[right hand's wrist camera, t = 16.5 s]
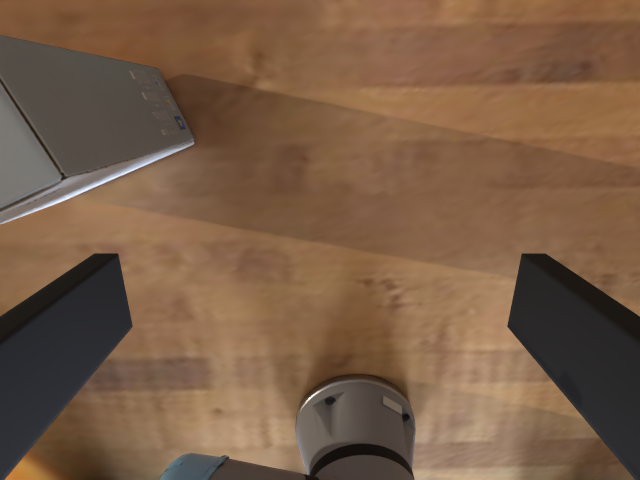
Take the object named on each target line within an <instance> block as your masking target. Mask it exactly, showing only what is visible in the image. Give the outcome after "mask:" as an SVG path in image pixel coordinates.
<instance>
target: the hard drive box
mask: <svg viewBox="0 0 640 480" xmlns="http://www.w3.org/2000/svg"><path fill="white" fill-rule="evenodd" d="M194 140H195V139H194V137H193V135H192V133H191V131H190V129H189V127H188V125H187V123H186V121H185V119H184V117H183V115H182V113H181V111H180V109H179V108H178V106H177V104H176V102H175V100H174V98H173V96H172V94H171V92H170V90H169V89H168V87H167V85H166V83H165V81H164V79H163V77H162V75H161V74H160V72H159V70H158V69H157V68H155V67H150V66H146V65H141V64H136V63H132V62H127V61H122V60H117V59H112V58H107V57H102V56H97V55H92V54H88V53H83V52H78V51H73V50H68V49H64V48H59V47H54V46H49V45H44V44H40V43H35V42H30V41H25V40H21V39H16V38H11V37H7V36H2V35H0V224H3V223H6V222H8V221H11V220H14V219H17V218H19V217H22V216H25V215H27V214H30V213H33V212H35V211H38V210H41V209H43V208H46V207H49V206H51V205H54V204H57V203H59V202H62V201H64V200H67V199H69V198H71V197H74V196H76V195H78V194H80V193H83V192H85V191H87V190H89V189H92V188H94V187H96V186H99V185H101V184H103V183H105V182H108V181H110V180H112V179H115V178H117V177H119V176H122V175H124V174H126V173H129V172H131V171H133V170H136V169H138V168H140V167H143V166H145V165H147V164H150V163H152V162H154V161H157V160H159V159H161V158H164V157H166V156H168V155H171V154H173V153H175V152H178V151H180V150H182V149H185V148H187V147H189V146H191V145H193V144H194Z"/></svg>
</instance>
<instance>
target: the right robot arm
mask: <svg viewBox="0 0 640 480" xmlns="http://www.w3.org/2000/svg"><path fill="white" fill-rule="evenodd" d="M132 327H133V326H132V321H131V316H130V311H129V306H128V301H127V296H126V291H125V286H124V281H123V276H122V271H121V266H120V261H119V256H118V254H93V255H92V256H90V257H89V258H87V259H86V260H84V261H83V262H81V263H80V264H78V265H77V266H75V267H74V268H72V269H71V270H69V271H68V272H66V273H65V274H63V275H62V276H60V277H59V278H57V279H56V280H54V281H53V282H51V283H50V284H48V285H47V286H45V287H44V288H42V289H41V290H39V291H38V292H36V293H35V294H33V295H32V296H30V297H29V298H27V299H26V300H24V301H23V302H21V303H20V304H18V305H17V306H15V307H14V308H12V309H11V310H9V311H8V312H7V313H5V314H4V315H2V316H1V317H0V480H5V478H6V477H7V476H8V475H9V474H10V472H11V471H12V470H13V469H14V468H15V466H16V465H17V464H18V463H19V462H20V460H21V459H22V458H23V457H24V456H25V455H26V453H27V452H28V451H29V450H30V449H31V447H32V446H33V445H34V444H35V443H36V441H37V440H38V439H39V438H40V437H41V435H42V434H43V433H44V432H45V431H46V429H47V428H48V427H49V426H50V425H51V423H52V422H53V421H54V420H55V419H56V417H57V416H58V415H59V414H60V413H61V412H62V410H63V409H64V408H65V407H66V406H67V404H68V403H69V402H70V401H71V400H72V398H73V397H74V396H75V395H76V394H77V392H78V391H79V390H80V389H81V388H82V386H83V385H84V384H85V383H86V382H87V380H88V379H89V378H90V377H91V376H92V374H93V373H94V372H95V371H96V370H97V369H98V367H99V366H100V365H101V364H102V363H103V361H104V360H105V359H106V358H107V357H108V355H109V354H110V353H111V352H112V351H113V349H114V348H115V347H116V346H117V345H118V343H119V342H120V341H121V340H122V339H123V337H124V336H125V335H126V334H127V333H128V331H129V330H130V329H131V328H132ZM507 327H508V328H509V329H510V330H511V331H512V333H513V334H514V335H515V336H516V337H517V339H518V340H519V341H520V342H521V343H522V345H523V346H524V347H525V348H526V349H527V351H528V352H529V353H530V354H531V355H532V357H533V358H534V359H535V360H536V361H537V363H538V364H539V365H540V366H541V367H542V369H543V370H544V371H545V372H546V373H547V374H548V376H549V377H550V378H551V379H552V380H553V382H554V383H555V384H556V385H557V386H558V388H559V389H560V390H561V391H562V392H563V394H564V395H565V396H566V397H567V398H568V400H569V401H570V402H571V403H572V404H573V406H574V407H575V408H576V409H577V410H578V412H579V413H580V414H581V415H582V416H583V417H584V419H585V420H586V421H587V422H588V423H589V425H590V426H591V427H592V428H593V429H594V431H595V432H596V433H597V434H598V435H599V437H600V438H601V439H602V440H603V441H604V443H605V444H606V445H607V446H608V447H609V449H610V450H611V451H612V452H613V453H614V455H615V456H616V457H617V458H618V459H619V460H620V462H621V463H622V464H623V465H624V466H625V468H626V469H627V470H628V471H629V472H630V474H631V475H632V476H633V477H634V478H635V480H640V317H639V316H638V315H636V314H635V313H633V312H632V311H631V310H629V309H628V308H626V307H625V306H623V305H622V304H620V303H619V302H617V301H616V300H614V299H613V298H611V297H610V296H608V295H607V294H605V293H604V292H602V291H601V290H599V289H598V288H596V287H595V286H593V285H592V284H590V283H589V282H587V281H586V280H584V279H583V278H581V277H580V276H578V275H577V274H575V273H574V272H572V271H571V270H569V269H568V268H566V267H565V266H563V265H562V264H560V263H559V262H557V261H556V260H554V259H553V258H551V257H550V256H548V255H547V254H522V256H521V261H520V266H519V271H518V276H517V281H516V286H515V291H514V296H513V301H512V306H511V311H510V316H509V321H508V326H507ZM296 438H297V443H298V447H299V450H300V453H301V456H302V460H303V463H304V466H305V469H306V472H307V475H305V474H301V473H296V472H290V471H286V470H281V469H276V468H271V467H266V466H261V465H257V464H252V463H247V462H242V461H237V460H232V459H229V456H226V455H224V456H222V457H216V456H208V455H202V454H195V453H189V454H185V455H182V456H180V457H179V458H177V459H176V460H175V461H173V462H172V463H171V464H170V465H169V467H168V468H167V469H166V470H165V472H164V473H163V475H162V476H161V478H160V479H159V480H414V476H413V471H412V465H413V454H414V444H415V420H414V416H413V413H412V409H411V406H410V404H409V402H408V400H407V398H406V397H405V395H404V394H403V393H402V392H401V391H400V390H399V389H398V388H397V387H395V386H394V385H392V384H391V383H389V382H387V381H385V380H383V379H380V378H377V377H373V376H368V375H356V374H354V375H344V376H339V377H335V378H332V379H329V380H327V381H325V382H323V383H321V384H319V385H318V386H316V387H315V388H314V389H312V390H311V391H310V392H309V393H308V394H307V395H306V396H305V398H304V399H303V400H302V402H301V404H300V406H299V409H298V412H297V417H296Z"/></svg>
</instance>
